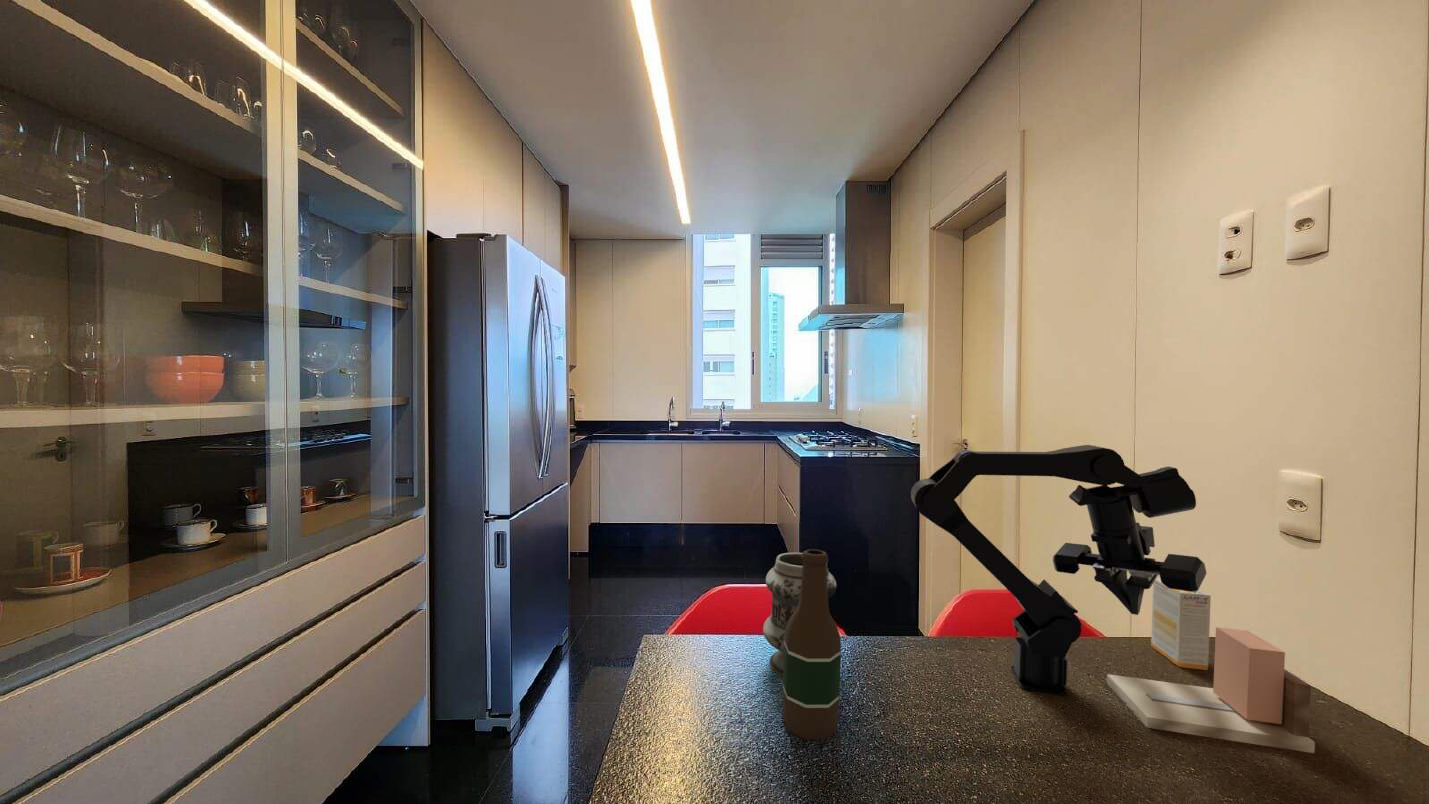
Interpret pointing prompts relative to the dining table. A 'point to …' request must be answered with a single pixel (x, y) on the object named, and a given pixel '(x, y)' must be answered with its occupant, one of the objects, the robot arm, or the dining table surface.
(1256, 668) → the tan rectangular block
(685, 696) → the dining table surface
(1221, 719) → the track
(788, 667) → the beer bottle
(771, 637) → the apothecary jar
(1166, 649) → the supplement box
